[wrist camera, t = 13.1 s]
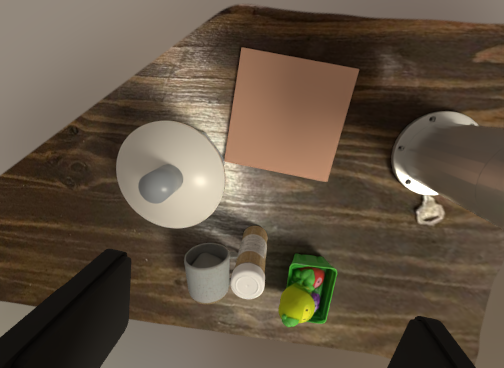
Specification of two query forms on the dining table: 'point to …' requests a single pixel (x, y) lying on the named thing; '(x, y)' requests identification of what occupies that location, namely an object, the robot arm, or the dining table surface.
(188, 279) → the ceramic mug
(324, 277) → the fruit basket
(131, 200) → the lid
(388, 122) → the dining table surface
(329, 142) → the mat
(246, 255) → the spice bottle
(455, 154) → the robot arm
